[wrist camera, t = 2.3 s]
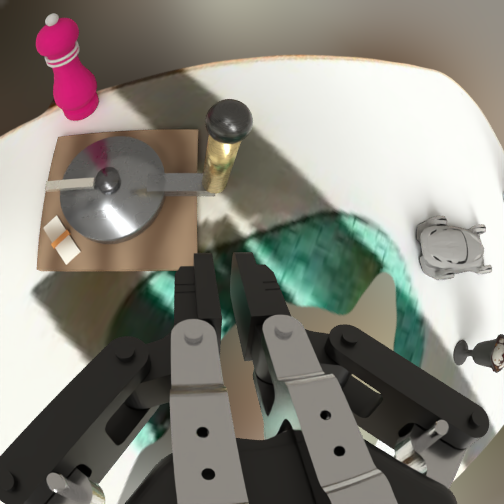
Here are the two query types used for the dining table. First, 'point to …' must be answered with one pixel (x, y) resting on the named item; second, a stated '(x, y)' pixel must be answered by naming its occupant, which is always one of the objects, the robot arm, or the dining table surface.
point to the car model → (450, 249)
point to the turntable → (143, 178)
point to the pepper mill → (67, 68)
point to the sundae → (482, 353)
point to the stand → (144, 245)
